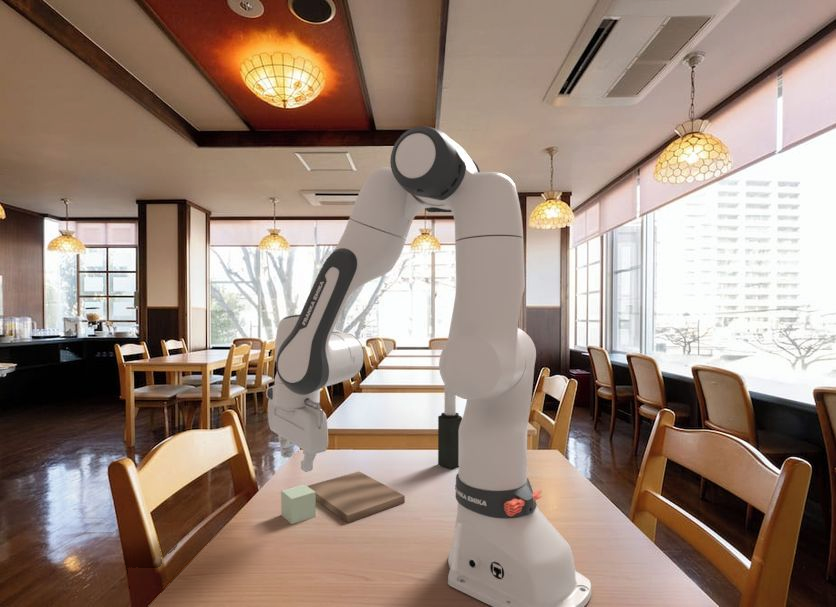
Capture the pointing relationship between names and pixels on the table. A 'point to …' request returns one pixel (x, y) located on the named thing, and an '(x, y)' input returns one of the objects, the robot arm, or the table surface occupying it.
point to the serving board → (355, 496)
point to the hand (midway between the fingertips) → (296, 463)
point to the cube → (298, 503)
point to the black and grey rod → (449, 433)
